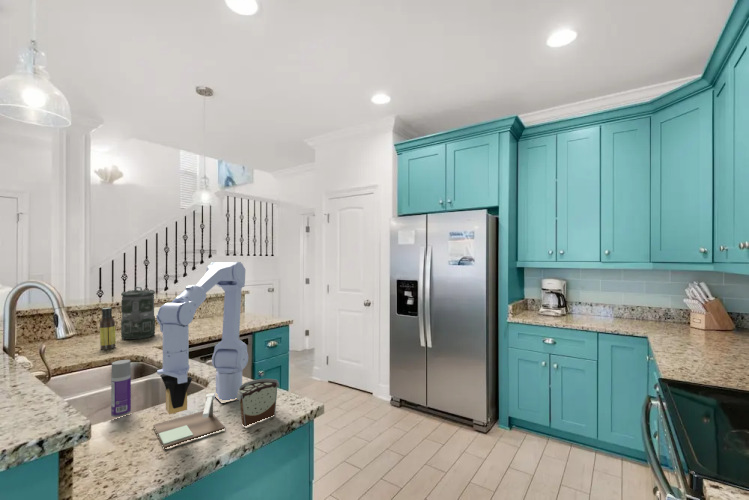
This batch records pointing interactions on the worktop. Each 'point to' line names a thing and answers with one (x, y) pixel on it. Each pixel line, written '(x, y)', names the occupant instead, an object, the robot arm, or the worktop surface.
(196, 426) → the brown tray
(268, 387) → the food container
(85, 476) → the worktop surface
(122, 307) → the green backpack
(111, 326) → the sauce bottle
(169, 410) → the plug block
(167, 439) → the sage mat
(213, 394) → the strap
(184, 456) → the worktop surface
